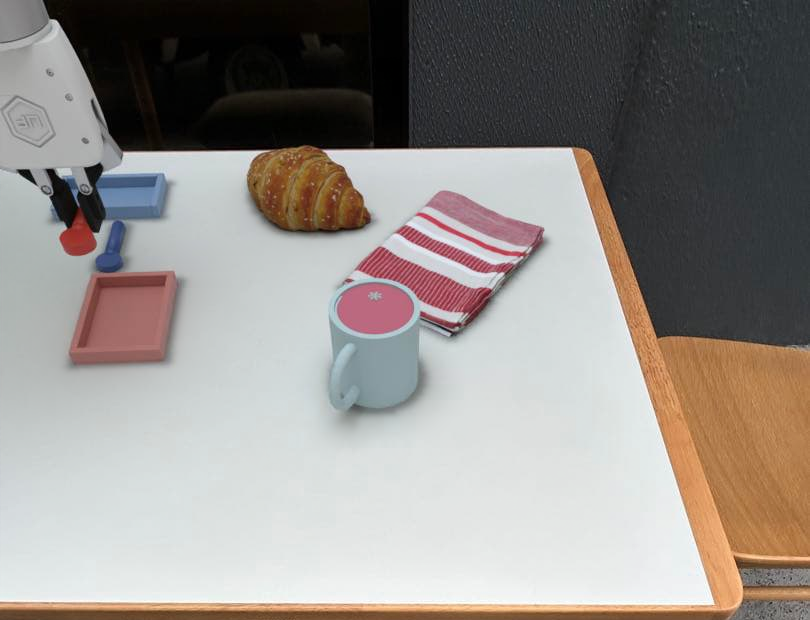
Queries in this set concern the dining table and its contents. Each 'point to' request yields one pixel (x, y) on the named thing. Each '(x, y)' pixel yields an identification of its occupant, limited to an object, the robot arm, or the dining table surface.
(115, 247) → the blue spoon
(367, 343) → the mug
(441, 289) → the dish towel
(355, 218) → the pastry
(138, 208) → the blue tray
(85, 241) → the red spoon
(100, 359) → the rose tray
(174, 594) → the dining table surface
